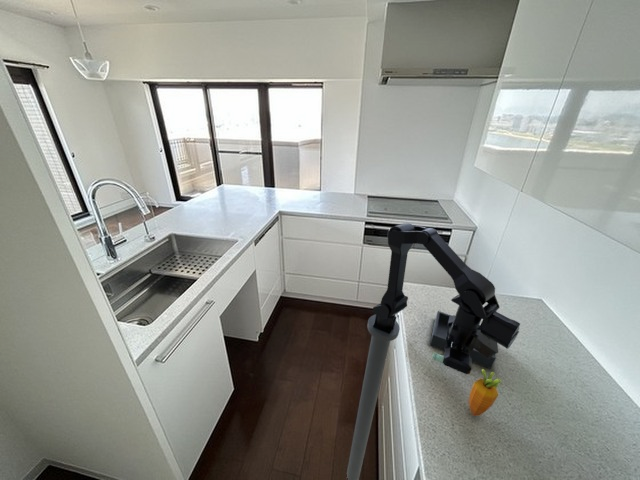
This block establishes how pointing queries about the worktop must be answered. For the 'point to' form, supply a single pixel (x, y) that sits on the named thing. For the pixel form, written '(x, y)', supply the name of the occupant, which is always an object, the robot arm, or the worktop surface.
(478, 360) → the bin
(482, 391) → the carrot
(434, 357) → the pale green rod
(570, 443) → the worktop surface
